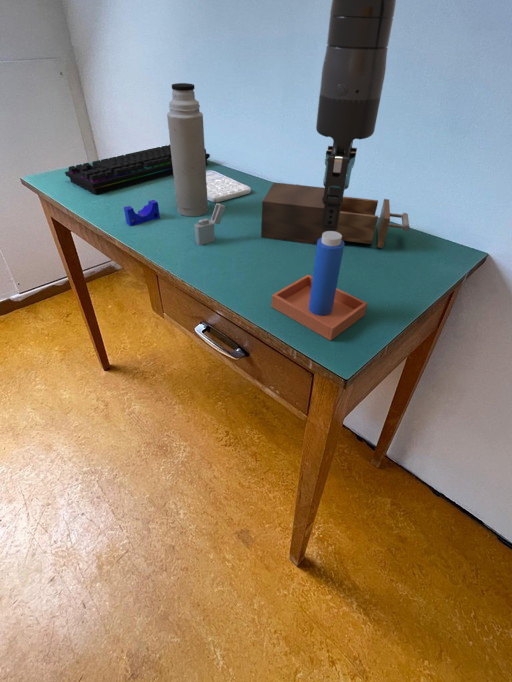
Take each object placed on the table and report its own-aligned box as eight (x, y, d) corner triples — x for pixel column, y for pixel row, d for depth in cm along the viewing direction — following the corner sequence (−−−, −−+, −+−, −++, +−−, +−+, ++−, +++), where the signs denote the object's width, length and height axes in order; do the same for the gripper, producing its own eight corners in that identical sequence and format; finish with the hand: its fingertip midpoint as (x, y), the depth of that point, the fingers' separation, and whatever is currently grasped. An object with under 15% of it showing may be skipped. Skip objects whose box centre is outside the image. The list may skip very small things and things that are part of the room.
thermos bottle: (171, 212, 102) (155, 84, 84) (190, 202, 108) (179, 80, 90) (195, 219, 99) (185, 88, 81) (214, 208, 105) (208, 83, 86)
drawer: (402, 229, 96) (410, 201, 91) (404, 251, 87) (413, 221, 83) (327, 220, 98) (331, 193, 94) (322, 240, 90) (326, 211, 86)
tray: (364, 315, 70) (367, 303, 68) (330, 341, 64) (332, 328, 63) (306, 285, 77) (308, 274, 75) (271, 306, 71) (271, 294, 70)
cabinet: (328, 223, 99) (334, 188, 94) (323, 245, 90) (328, 208, 84) (272, 216, 102) (273, 182, 96) (261, 237, 92) (262, 201, 87)
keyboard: (180, 154, 141) (178, 139, 138) (210, 164, 133) (210, 148, 130) (66, 181, 117) (62, 163, 114) (95, 196, 109) (90, 177, 106)
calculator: (214, 204, 107) (213, 197, 106) (175, 183, 119) (175, 176, 117) (252, 193, 114) (252, 186, 112) (212, 174, 125) (212, 168, 124)
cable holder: (153, 213, 101) (150, 197, 99) (160, 217, 99) (157, 202, 97) (124, 221, 97) (120, 205, 95) (130, 226, 95) (127, 209, 93)
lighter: (199, 245, 89) (196, 210, 83) (195, 242, 90) (192, 208, 84) (226, 238, 92) (225, 204, 87) (222, 235, 93) (221, 201, 88)
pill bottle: (333, 304, 71) (346, 231, 62) (331, 317, 68) (344, 242, 59) (310, 300, 72) (320, 227, 63) (306, 313, 69) (316, 239, 60)
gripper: (381, 103, 43) (354, 241, 54) (381, 85, 54) (359, 203, 64) (312, 99, 44) (300, 235, 55) (325, 82, 55) (313, 198, 65)
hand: (331, 217), depth 59 cm, fingers open, 8 cm apart
